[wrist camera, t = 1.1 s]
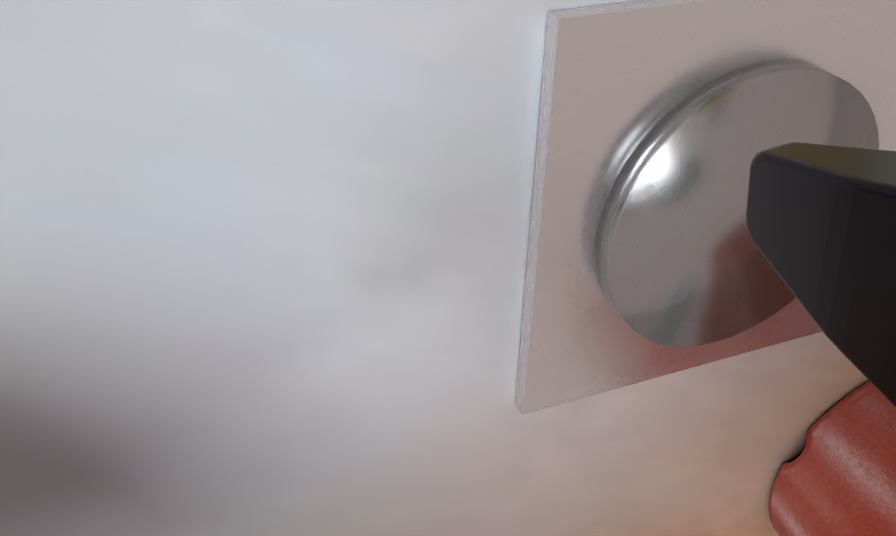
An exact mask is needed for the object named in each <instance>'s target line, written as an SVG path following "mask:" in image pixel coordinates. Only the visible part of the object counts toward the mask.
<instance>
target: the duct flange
mask: <svg viewBox="0 0 896 536" xmlns="http://www.w3.org/2000/svg"><path fill="white" fill-rule="evenodd" d="M790 142H801V143H812V144H823V145H834V146H845V147H856V148H867V149H878V150H888V151H896V0H642V1H633V2H625V3H616V4H607V5H599V6H590V7H581V8H573V9H564V10H556V11H548V19H547V31H546V43H545V55H544V67H543V79H542V91H541V103H540V115H539V127H538V139H537V151H536V163H535V175H534V187H533V199H532V211H531V223H530V235H529V247H528V259H527V271H526V283H525V295H524V307H523V319H522V331H521V343H520V355H519V366H518V378H517V390H516V402H515V403H516V405H517V406H518V408H519V409H520V411H521V413H522V414H526V413H530V412H533V411H537V410H540V409H544V408H548V407H551V406H555V405H558V404H562V403H566V402H569V401H573V400H576V399H580V398H584V397H587V396H591V395H594V394H598V393H602V392H605V391H609V390H612V389H616V388H620V387H623V386H627V385H630V384H634V383H637V382H641V381H645V380H648V379H652V378H655V377H659V376H663V375H666V374H670V373H673V372H677V371H681V370H684V369H688V368H691V367H695V366H699V365H702V364H706V363H709V362H713V361H717V360H720V359H724V358H727V357H731V356H735V355H738V354H742V353H745V352H749V351H752V350H756V349H760V348H763V347H767V346H770V345H774V344H778V343H781V342H785V341H788V340H792V339H796V338H799V337H803V336H806V335H810V334H814V333H817V332H821V331H822V330H821V329H820V327H819V326H818V325H817V324H816V323H815V321H814V320H813V319H812V318H811V316H810V315H809V314H808V312H807V311H806V310H805V309H804V307H803V306H802V305H801V303H800V302H799V301H798V299H797V298H796V297H795V295H794V294H793V293H792V292H791V290H790V289H789V288H788V286H787V285H786V284H785V282H784V281H783V280H782V279H781V277H780V276H779V275H778V273H777V272H776V271H775V269H774V268H773V267H772V266H771V264H770V263H769V262H768V260H767V259H766V258H765V256H764V255H763V254H762V253H761V251H760V250H759V249H758V247H757V246H756V245H755V243H754V242H753V240H752V238H751V236H750V234H749V231H748V228H747V224H746V206H747V195H748V184H749V173H750V165H751V161H752V159H753V157H754V156H755V155H756V154H757V153H758V152H760V151H762V150H766V149H769V148H772V147H775V146H778V145H781V144H785V143H790Z"/></svg>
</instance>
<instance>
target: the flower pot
mask: <svg viewBox="0 0 896 536" xmlns="http://www.w3.org/2000/svg"><path fill="white" fill-rule="evenodd" d="M769 516H770V520H771V522H772V525H773V527H774V528H775V530H776V531H777V532H778V534H779V535H780V536H896V407H895V406H894V405H893V404H892V403H891V402H890V401H889V400H888V399H887V398H886V397H885V396H884V395H883V394H882V393H881V392H880V391H879V390H878V389H877V388H876V387H875V386H874V385H873V384H872V383H871V382H870V381H868V382H866V383H865V384H863V385H862V386H860V387H858V388H857V389H855V390H854V391H852V392H851V393H849V394H848V395H847V396H845V397H844V398H843V399H842V400H841V401H840V402H838V403H837V404H836V405H835V406H833V407H832V408H831V409H830V410H829V411H828V412H827V413H826V414H824V415H823V416H822V417H821V418H820V419H819V420H818V421H817V422H816V423H815V424H814V425H813V426H812V427H811V428H810V429H809V430H808V432H807V434H806V445H805V448H804V450H803V452H802V454H801V455H800V456H799V457H798V458H797V459H795V460H794V461H792V462H787V463H784V464H783V465H782V467H781V469H780V471H779V473H778V474H777V477H776V479H775V481H774V484H773V486H772V490H771V494H770V497H769Z"/></svg>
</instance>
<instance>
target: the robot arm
mask: <svg viewBox="0 0 896 536" xmlns="http://www.w3.org/2000/svg"><path fill="white" fill-rule="evenodd" d="M746 224H747V228H748V231H749V234H750V236H751V238H752V240H753V242H754V243H755V245H756V246H757V247H758V249H759V250H760V251H761V253H762V254H763V255H764V256H765V258H766V259H767V260H768V262H769V263H770V264H771V266H772V267H773V268H774V269H775V271H776V272H777V273H778V275H779V276H780V277H781V279H782V280H783V281H784V282H785V284H786V285H787V286H788V288H789V289H790V290H791V292H792V293H793V294H794V295H795V297H796V298H797V299H798V301H799V302H800V303H801V305H802V306H803V307H804V309H805V310H806V311H807V312H808V314H809V315H810V316H811V318H812V319H813V320H814V321H815V323H816V324H817V325H818V326H819V327H820V329H821V330H822V331H823V332H824V333H825V335H826V336H827V337H828V338H829V339H830V340H831V341H832V342H833V343H834V344H835V346H836V347H837V348H838V349H839V350H840V351H841V352H842V353H843V354H844V355H845V356H846V357H847V358H848V359H849V360H850V361H851V362H852V363H853V364H854V365H855V366H856V367H857V368H858V369H859V370H860V371H861V372H862V373H863V374H864V376H865V377H866V378H867V379H868V380H869V381H870V382H871V383H872V384H873V385H874V386H875V387H876V388H877V389H878V390H879V391H880V392H881V393H882V394H883V395H884V396H885V397H886V398H887V399H888V400H889V401H890V402H891V403H892V404H893V405H894V406H895V407H896V151H888V150H878V149H867V148H856V147H845V146H834V145H823V144H812V143H801V142H790V143H785V144H781V145H778V146H775V147H772V148H769V149H766V150H762V151H760V152H758V153H757V154H756V155H755V156H754V157H753V159H752V161H751V165H750V173H749V184H748V195H747V206H746Z"/></svg>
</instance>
